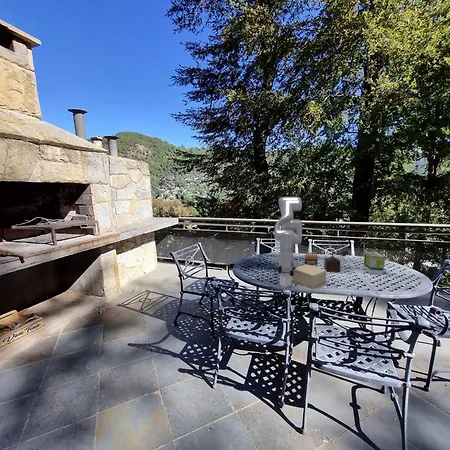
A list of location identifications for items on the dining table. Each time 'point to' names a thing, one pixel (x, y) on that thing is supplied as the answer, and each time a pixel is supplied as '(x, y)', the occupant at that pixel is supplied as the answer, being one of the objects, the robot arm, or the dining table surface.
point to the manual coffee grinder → (333, 263)
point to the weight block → (285, 280)
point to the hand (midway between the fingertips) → (285, 274)
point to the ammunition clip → (311, 259)
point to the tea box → (374, 262)
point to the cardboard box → (309, 279)
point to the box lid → (310, 270)
